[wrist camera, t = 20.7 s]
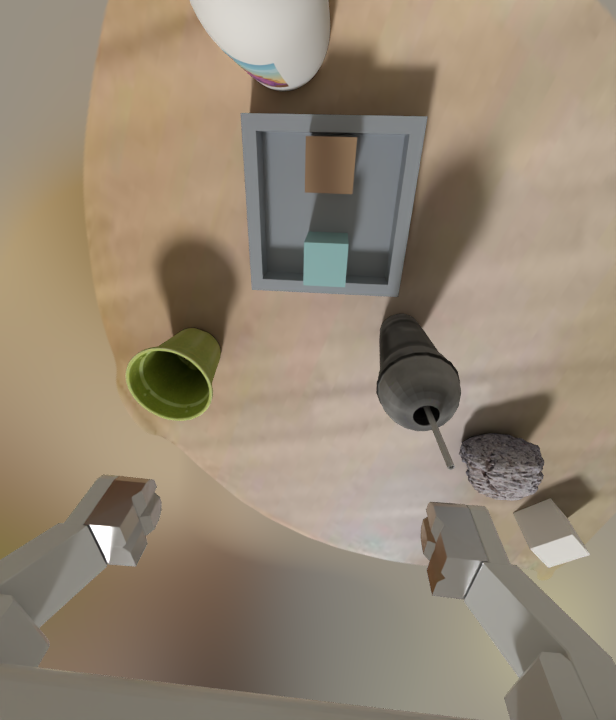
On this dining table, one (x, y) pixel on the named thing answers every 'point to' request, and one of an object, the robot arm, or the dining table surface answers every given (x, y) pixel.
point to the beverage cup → (416, 379)
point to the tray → (330, 198)
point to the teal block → (325, 259)
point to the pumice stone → (502, 465)
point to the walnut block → (330, 164)
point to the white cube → (550, 533)
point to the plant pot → (175, 375)
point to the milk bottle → (270, 37)
